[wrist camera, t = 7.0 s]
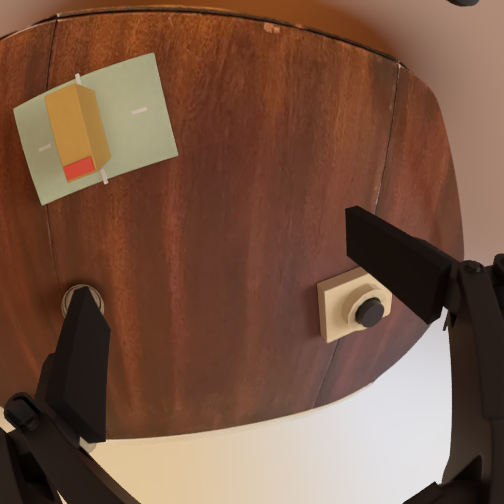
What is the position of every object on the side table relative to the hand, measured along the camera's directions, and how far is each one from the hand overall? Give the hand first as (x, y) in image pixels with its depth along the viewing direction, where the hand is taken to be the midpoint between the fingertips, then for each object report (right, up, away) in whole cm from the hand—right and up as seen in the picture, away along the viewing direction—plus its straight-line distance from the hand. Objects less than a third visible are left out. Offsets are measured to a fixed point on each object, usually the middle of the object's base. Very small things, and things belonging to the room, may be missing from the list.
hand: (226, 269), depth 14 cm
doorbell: (+16, -6, +30) cm, 35 cm away
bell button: (+18, -7, +27) cm, 33 cm away
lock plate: (-14, +13, +11) cm, 22 cm away
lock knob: (-13, +12, +8) cm, 19 cm away
